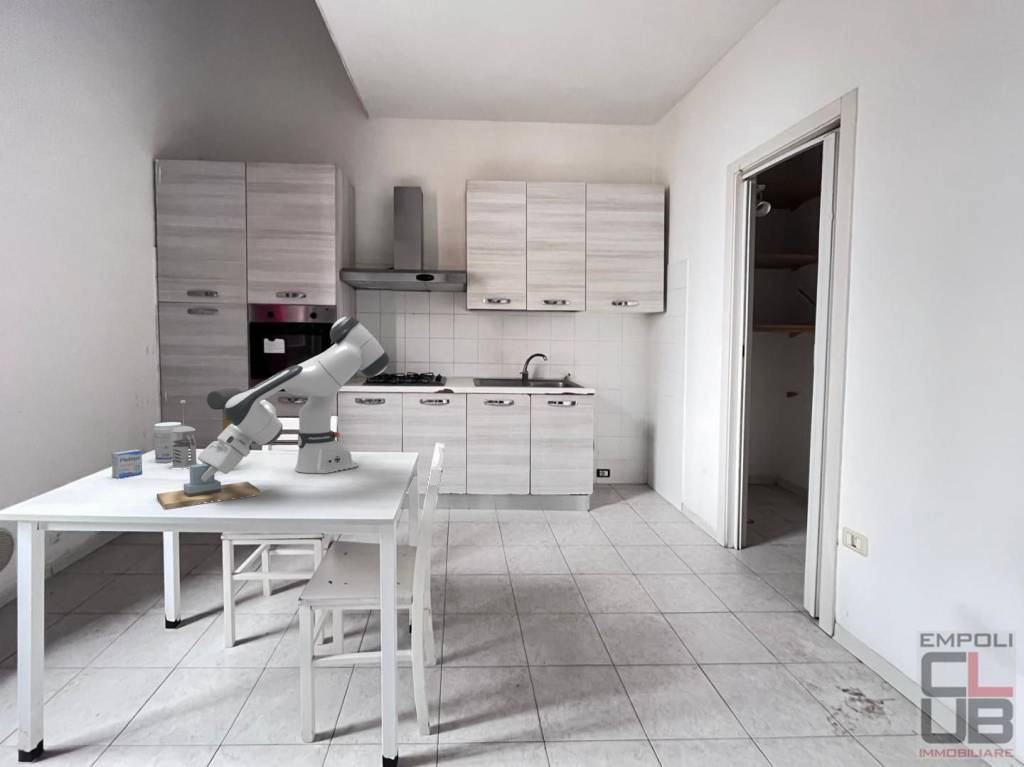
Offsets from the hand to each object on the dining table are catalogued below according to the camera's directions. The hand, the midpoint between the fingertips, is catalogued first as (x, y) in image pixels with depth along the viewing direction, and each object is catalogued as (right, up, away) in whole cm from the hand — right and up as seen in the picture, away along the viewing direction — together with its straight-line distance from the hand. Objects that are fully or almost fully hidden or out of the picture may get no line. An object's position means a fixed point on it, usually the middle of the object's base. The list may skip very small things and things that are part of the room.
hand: (199, 478), depth 181 cm
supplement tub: (-39, -2, +52) cm, 65 cm away
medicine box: (-40, -4, +28) cm, 48 cm away
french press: (-27, -3, +43) cm, 51 cm away
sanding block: (0, -4, +1) cm, 5 cm away
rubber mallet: (-10, -3, +39) cm, 40 cm away
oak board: (+2, -6, +2) cm, 7 cm away
